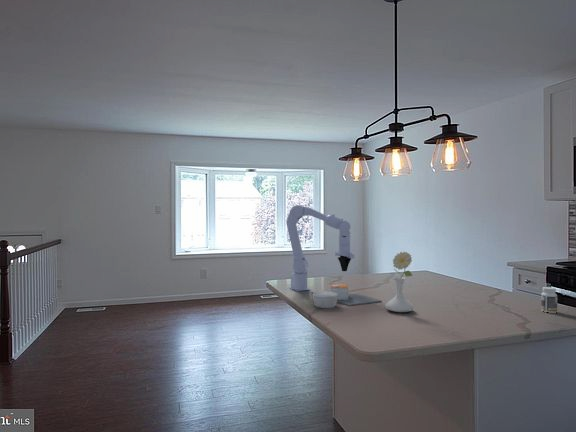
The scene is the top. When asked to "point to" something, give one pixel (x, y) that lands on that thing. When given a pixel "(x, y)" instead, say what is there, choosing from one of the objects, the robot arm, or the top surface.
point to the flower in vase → (400, 284)
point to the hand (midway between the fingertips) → (344, 271)
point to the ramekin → (325, 299)
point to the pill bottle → (549, 300)
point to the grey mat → (358, 299)
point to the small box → (340, 291)
